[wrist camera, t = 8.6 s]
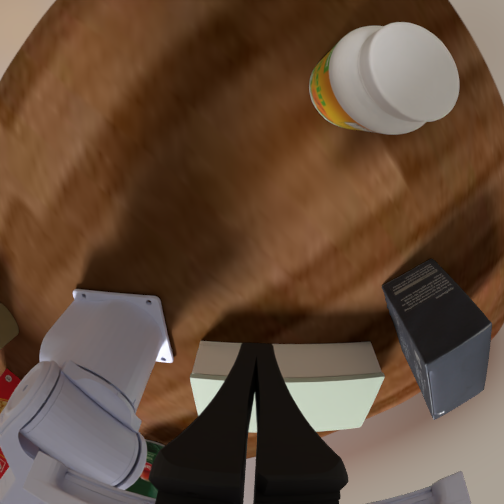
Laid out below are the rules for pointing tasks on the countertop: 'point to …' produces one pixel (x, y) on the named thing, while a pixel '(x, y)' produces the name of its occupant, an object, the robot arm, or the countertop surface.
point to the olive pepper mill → (7, 326)
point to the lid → (310, 398)
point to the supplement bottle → (385, 79)
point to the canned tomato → (147, 472)
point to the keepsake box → (294, 359)
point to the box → (440, 335)
